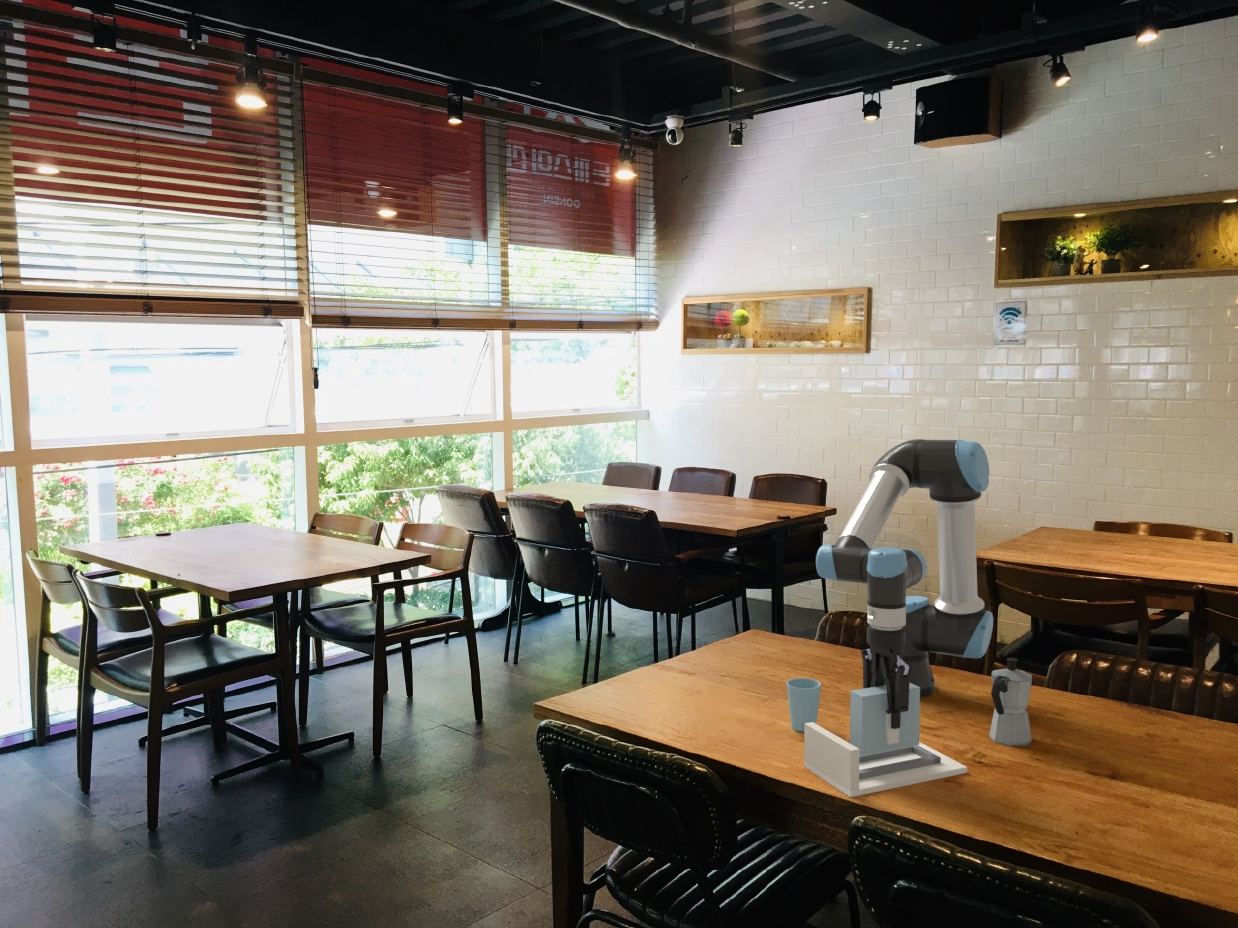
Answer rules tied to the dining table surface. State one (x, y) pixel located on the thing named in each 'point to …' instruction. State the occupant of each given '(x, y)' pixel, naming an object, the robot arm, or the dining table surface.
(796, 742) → the dining table surface
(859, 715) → the light blue block
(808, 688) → the cup
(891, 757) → the track
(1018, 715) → the coffee maker
